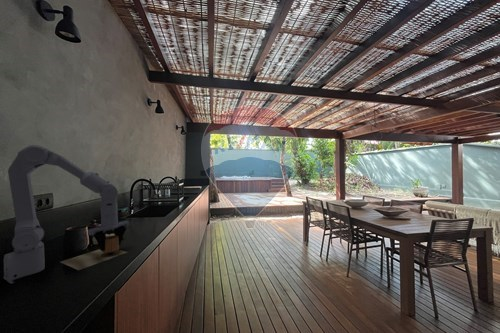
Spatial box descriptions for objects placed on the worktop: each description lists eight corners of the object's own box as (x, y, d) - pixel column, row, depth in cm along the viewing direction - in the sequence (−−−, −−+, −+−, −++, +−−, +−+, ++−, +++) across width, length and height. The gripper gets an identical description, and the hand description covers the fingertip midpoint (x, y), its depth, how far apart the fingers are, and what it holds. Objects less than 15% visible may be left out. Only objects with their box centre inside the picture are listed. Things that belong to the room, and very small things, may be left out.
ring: (107, 253, 84) (106, 240, 84) (99, 251, 87) (99, 238, 87) (121, 248, 89) (121, 236, 89) (113, 246, 92) (113, 234, 92)
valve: (92, 248, 98) (123, 242, 105) (92, 233, 98) (122, 228, 105) (92, 244, 103) (121, 238, 110) (92, 230, 103) (121, 225, 110)
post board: (78, 273, 74) (78, 256, 74) (59, 264, 81) (59, 249, 81) (127, 254, 89) (127, 241, 89) (107, 248, 96) (107, 236, 96)
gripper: (94, 219, 80) (95, 256, 79) (132, 211, 92) (133, 243, 92) (85, 217, 83) (86, 253, 83) (123, 210, 96) (124, 241, 96)
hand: (110, 247), depth 88 cm, fingers closed on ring, 5 cm apart
